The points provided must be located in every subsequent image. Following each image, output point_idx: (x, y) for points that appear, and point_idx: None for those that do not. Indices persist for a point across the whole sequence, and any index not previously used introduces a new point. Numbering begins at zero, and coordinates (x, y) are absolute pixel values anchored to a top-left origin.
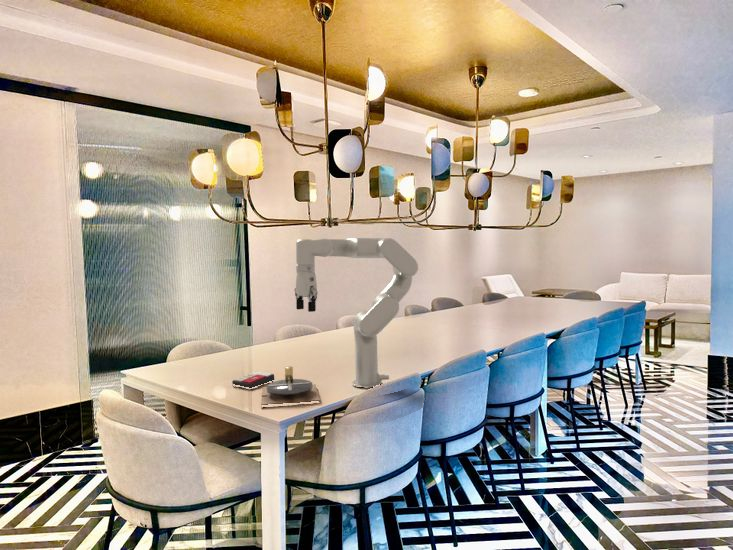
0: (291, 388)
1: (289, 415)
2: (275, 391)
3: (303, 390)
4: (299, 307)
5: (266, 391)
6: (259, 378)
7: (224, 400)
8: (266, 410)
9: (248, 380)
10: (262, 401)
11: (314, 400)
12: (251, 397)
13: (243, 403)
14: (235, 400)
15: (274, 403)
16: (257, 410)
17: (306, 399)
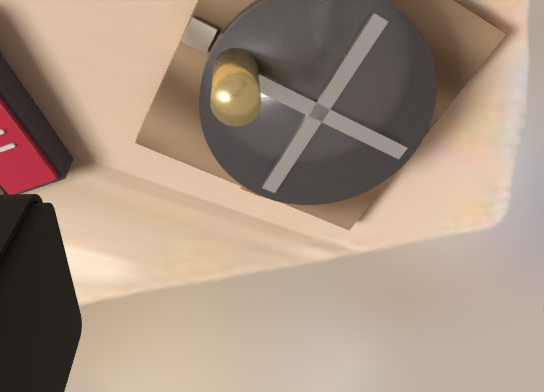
0: (392, 141)
1: (493, 184)
2: (354, 196)
3: (434, 94)
4: (65, 319)
5: (201, 151)
6: (15, 124)
7: (163, 272)
8: (381, 216)
9: (20, 174)
10: (322, 215)
11: (487, 56)
12: (191, 197)
13: (246, 241)
14: (190, 248)
15: (378, 193)
16: (356, 236)
17: (448, 78)
